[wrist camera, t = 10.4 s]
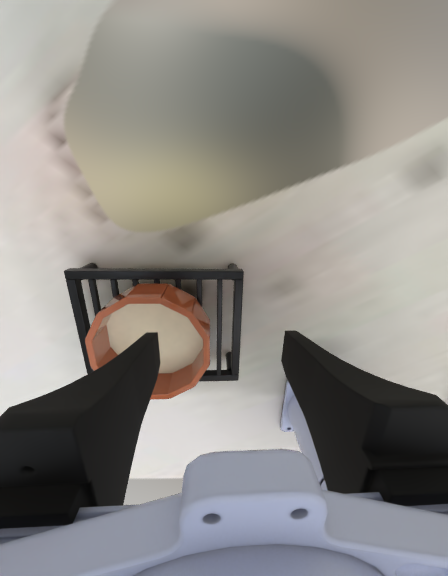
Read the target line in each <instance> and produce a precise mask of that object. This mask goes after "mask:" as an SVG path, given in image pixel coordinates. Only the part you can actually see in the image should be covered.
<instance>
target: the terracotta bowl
mask: <svg viewBox="0 0 448 576" xmlns="http://www.w3.org/2000/svg"><path fill="white" fill-rule="evenodd" d="M147 332H158V341H159V351H160V362H161V363H160V368H159V373H158V377H157V381H156V384H155V387H154V390H153V392H152V395H151V398H150V399H169V398H172V397H174V396H177V395H179V394H181V393H183V392H185V391H187V390H189V389H191V388H193V387H194V386H196V384H197V383H198V381H199V380H200V378H201V377H202V375H203V374H204V372H205V371H206V370H207V368H208V367H209V364H210V320H209V317H208V316H207V314H206V313H205V311H204V310H203V308H202V307H201V305H200V304H199V302H198V301H197V299H196V298H195V297H194V296H192V295H190V294H188V293H186V292H184V291H182V290H180V289H178V288H176V287H175V286H173V285H171V284H168V283H139V284H136V285H135V286H133V287H131V288H129V289H128V290H126V291H124V292H122V293H121V294H119V295H117V296H115V297H114V298H113V299H112V300H111V301H110V302H109V303H108V304H107V305H106V306H105V307H103V308H102V309H101V310H100V311H99V312H98V313H97V314H96V317H95V319H94V321H93V323H92V325H91V327H90V329H89V332H88V334H87V336H86V338H85V344H86V348H87V353H88V357H89V362H90V366H91V368H92V369H93V370H94V371H95V370H97V369H98V368H100V367H102V366H103V365H105V364H106V363H108V362H109V361H111V360H112V359H113V358H115V357H116V356H117V355H119V354H120V353H122V352H123V351H124V350H125V349H127V348H128V347H129V346H130V345H132V344H133V343H134V342H135V341H137V340H138V339H139V338H140V337H141V336H143V335H144V334H145V333H147Z"/></svg>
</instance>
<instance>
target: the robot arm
mask: <svg viewBox="0 0 448 576" xmlns="http://www.w3.org/2000/svg"><path fill="white" fill-rule="evenodd" d="M281 361H282V364H283V368H284V371H285V374H286V377H287V382H286V389H285V397H284V404H283V411H282V418H281V425H280V428H281V430H282V431H284V432H287V431H294V433H295V436H296V438H297V441H298V444H299V447H300V449H301V452H302V453H301V452H299V451H294V450H287V449H272V450H247V451H223V452H212V453H208V454H203V455H200V456H199V457H197V458H196V459H195V460H193V461H192V462H191V463H189V464H188V465H187V467H186V470H185V473H184V476H183V487H182V493H178V494H175V495H171V496H168V497H165V498H161V499H157V500H154V501H150V502H147V503H144V504H140V505H123V503H124V498H125V493H126V488H127V484H128V479H129V474H130V470H131V465H132V461H133V457H134V452H135V448H136V444H137V440H138V436H139V432H140V428H141V424H142V421H143V418H144V415H145V412H146V409H147V406H148V404H149V401H150V398H151V395H152V392H153V390H154V387H155V384H156V381H157V377H158V373H159V368H160V363H161V362H160V351H159V341H158V332H147V333H145V334H144V335H143V336H141V337H140V338H139V339H138V340H137V341H135V342H134V343H133V344H132V345H130V346H129V347H128V348H127V349H125V350H124V351H123V352H122V353H120V354H119V355H117V356H116V357H115V358H113V359H112V360H111V361H109V362H108V363H106V364H105V365H103V366H102V367H100V368H98V369H97V370H95V371H93V372H92V373H90V374H88V375H86V376H84V377H82V378H80V379H78V380H76V381H74V382H73V383H71V384H69V385H66V386H64V387H62V388H60V389H58V390H55V391H53V392H50V393H48V394H46V395H43V396H40V397H38V398H35V399H32V400H29V401H27V402H24V403H21V404H18V405H15V406H12V407H9V408H8V409H7V410H6V411H5V412H4V413H3V414H2V415H1V416H0V576H448V405H447V404H446V403H445V402H443V401H442V400H441V399H440V398H439V397H438V396H436V395H433V394H430V393H426V392H423V391H419V390H416V389H412V388H408V387H405V386H402V385H399V384H396V383H393V382H390V381H388V380H385V379H382V378H380V377H377V376H375V375H372V374H370V373H368V372H365V371H363V370H361V369H359V368H357V367H355V366H353V365H351V364H349V363H347V362H345V361H343V360H341V359H339V358H338V357H336V356H334V355H332V354H331V353H329V352H327V351H326V350H324V349H323V348H321V347H320V346H318V345H317V344H315V343H314V342H312V341H311V340H309V339H308V338H306V337H305V336H303V335H302V334H300V333H299V332H297V331H285V336H284V344H283V352H282V360H281Z"/></svg>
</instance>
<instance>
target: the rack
mask: <svg viewBox="0 0 448 576" xmlns="http://www.w3.org/2000/svg"><path fill="white" fill-rule="evenodd" d="M64 274H65V278H66V282H67V287H68V291H69V295H70V300H71V304H72V308H73V313H74V317H75V321H76V326H77V330H78V335H79V339H80V343H81V348H82V352H83V356H84V361H85V365H86V369H87V374H90V373H92V372H93V371H94V370H93V369H92V368H91V366H90V362H89V357H88V353H87V348H86V344H85V338H86V336H87V334H88V332H89V329H90V323H89V318H88V314H87V309H86V304H85V299H84V294H83V289H82V285H81V280H83V279H89V280H88V281H89V286H90V291H91V297H92V302H93V307H94V312H95V317H96V314H97V313H98V312H99V311H100V310H101V307H100V301H99V296H98V290H97V285H96V279H111V280H110V281H111V287H112V293H113V298H114V297H115V296H117V295H119V289H118V282H117V279H133V280H132V282H133V286H135V285H136V284H139V279H154V283H160V279H176V280H175V282H176V288H178V289H180V290H181V279H197V301H198V302H199V304H200V305H201V307H202V279H217V370H206V371H205V372H204V374H203V375H202V377H201V378H200V380H199V381H234V380H238V376H239V375H238V374H239V356H240V335H241V315H242V294H243V275H244V272H243V269H238V267H237V265H235V264H230V265H229V266H228V269H98V268H97V266H96V265H95V264H93V263H90V264H88V265H86V266H84V267H82V268H70V269H67V270H65V271H64ZM222 279H232V280H234V291H233V321H232V350H231V352H228V353H227V354H226V363H227V370H221V342H222Z"/></svg>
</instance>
